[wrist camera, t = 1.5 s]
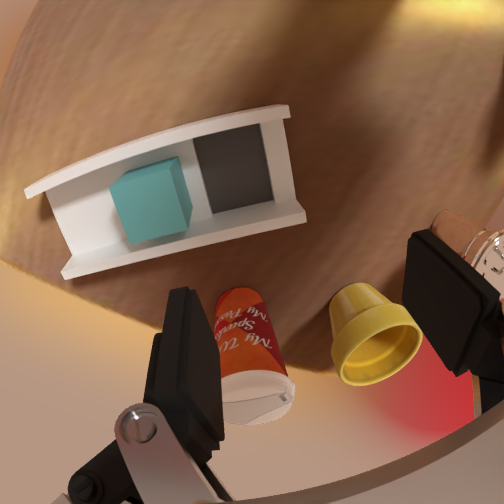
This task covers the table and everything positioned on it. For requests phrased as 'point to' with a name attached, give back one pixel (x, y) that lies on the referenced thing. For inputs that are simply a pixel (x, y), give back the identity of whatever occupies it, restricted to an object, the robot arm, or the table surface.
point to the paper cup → (250, 360)
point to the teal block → (153, 200)
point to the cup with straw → (474, 245)
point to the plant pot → (370, 335)
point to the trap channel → (198, 183)
